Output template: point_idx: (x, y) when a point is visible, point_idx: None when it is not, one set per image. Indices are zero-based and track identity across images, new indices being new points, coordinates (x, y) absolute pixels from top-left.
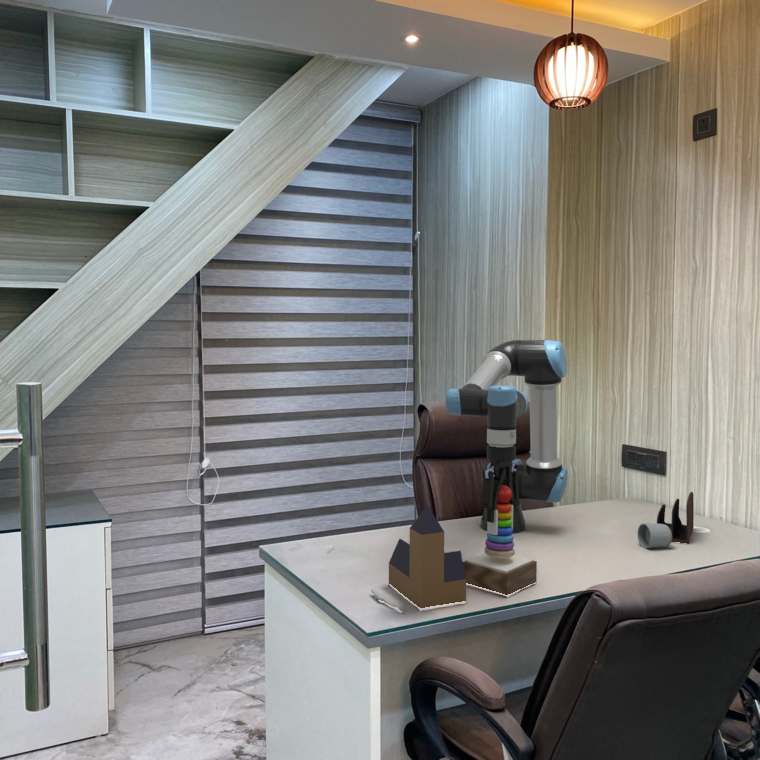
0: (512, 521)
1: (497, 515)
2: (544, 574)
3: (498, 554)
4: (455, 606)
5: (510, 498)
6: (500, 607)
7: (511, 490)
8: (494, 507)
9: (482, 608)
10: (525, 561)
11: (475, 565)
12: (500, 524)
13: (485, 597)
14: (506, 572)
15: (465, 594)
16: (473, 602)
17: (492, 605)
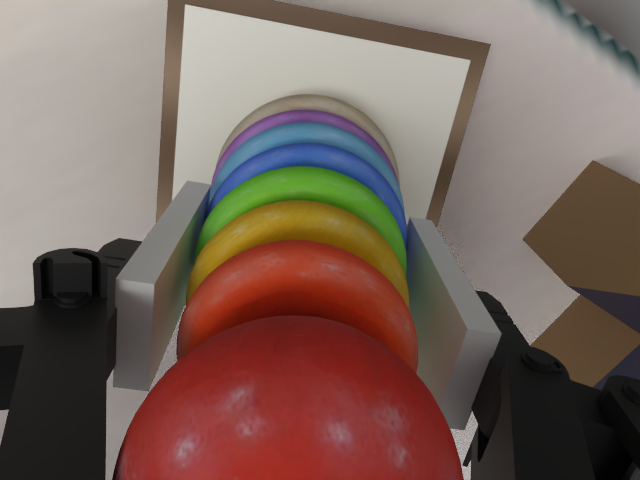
0: (179, 204)
1: (457, 296)
2: (42, 3)
3: (395, 161)
4: (635, 181)
5: (290, 320)
6: (580, 16)
7: (61, 451)
8: (554, 368)
9: (619, 80)
10: (238, 33)
11: None
12: (400, 235)
13: (492, 123)
14: (468, 60)
15: (616, 173)
16: (567, 141)
17: (570, 57)
